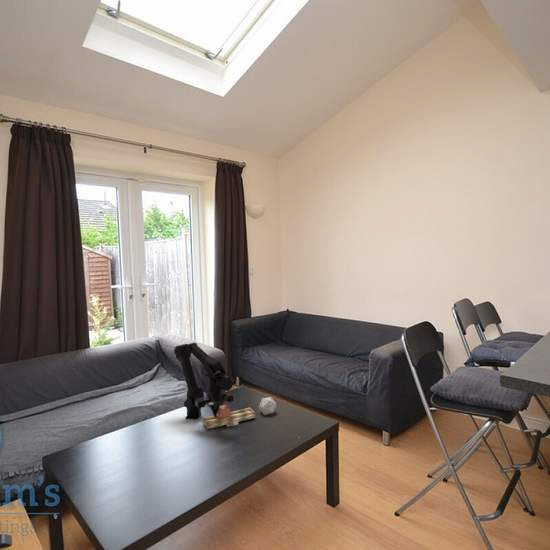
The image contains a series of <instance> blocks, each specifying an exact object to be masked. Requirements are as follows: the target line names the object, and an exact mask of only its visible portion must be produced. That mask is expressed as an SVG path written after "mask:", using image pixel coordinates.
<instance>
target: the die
mask: <svg viewBox="0 0 550 550" xmlns="http://www.w3.org/2000/svg"><path fill="white" fill-rule="evenodd" d="M276 407H277V403H276V402H275V400H274V399H273V398H272V397H271V396H269V397H262V398H261V400H260V403H259V405H258V408H259V410H260V411H261V412H262V414H263V415H264V416H267V415H271V414H274V413H275V409H276Z"/></svg>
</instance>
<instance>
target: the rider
mask: <svg viewBox="0 0 550 550" xmlns="http://www.w3.org/2000/svg"><path fill="white" fill-rule="evenodd" d="M229 412H231V408H230V407H229V406H228V405H227V404H223V405H222V406H220V407H219V409H218V412H217V415H218V419H221V418H226V417H229Z"/></svg>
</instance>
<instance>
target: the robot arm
mask: <svg viewBox="0 0 550 550" xmlns="http://www.w3.org/2000/svg"><path fill="white" fill-rule="evenodd" d="M173 351H174V354H175V357H176V360H177V361H179V362H180V364H181V368H182V372H183V375H184V379H185V382H186V386H187V391H186V399H185V401H183V406H184V408H186V416H185V419H189V420H198V419H199V418H200V416H201V415H202V408H205V407H206V406H208V407H209V408H210V410H211V412H212V414H213V415H212V416H214V417H216V415H218V409H219V407H220V406H223V405H225V403H226V402H227V403H231V402H234V400H235V399H234V398H235V397H234V395H233V394H232V393H231V392H229V391H231V390H232V388H233V385H234V383H233V380H232V379H231V378H230V377H231V376H229V375H227V372H226V371H225V368H224V367H223V364H222V362H221V361H220V360H218V359H217V358H214V357H211V356H210V355H209V354H207V352H205V351H204V350H203V349H202V348H201V347H200V346H199V345H198V343H197V342H191V343H184V344H179V345H176V346H175V348H174V349H173ZM191 356H194V357H195V358H196V359H197V360H198V361H199V362H200V363H201V364H202V365H203V369H204V371H206V373H207V374H205V377H206V378H208V388H207V389H208V395H207V397H208V399H207V398H206V399H205V393H204V391H203V387H200V386H198V384H197V380H196V376H195V372H194V370H193V366H192V363H191ZM222 390H224V391H226V392H225V393H222Z"/></svg>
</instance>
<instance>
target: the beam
mask: <svg viewBox="0 0 550 550" xmlns="http://www.w3.org/2000/svg"><path fill="white" fill-rule="evenodd" d="M255 418H256V412H255V411H254V409H252V408H251V407H250V406H248V407H247V408H242V409H239V410H234V411H229V417H226V418H221V419H218V414H217V415H216V417H214V415H211V416H206V417H203V418H202V423H203V424H204V426H205V428H206V429H207V430H208V429H213V428H217V427H222V426H224V425H225V426H226V427H227V428H229V427H233V426H238V425H239V422H243V421H247V420H250V419H255Z"/></svg>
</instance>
